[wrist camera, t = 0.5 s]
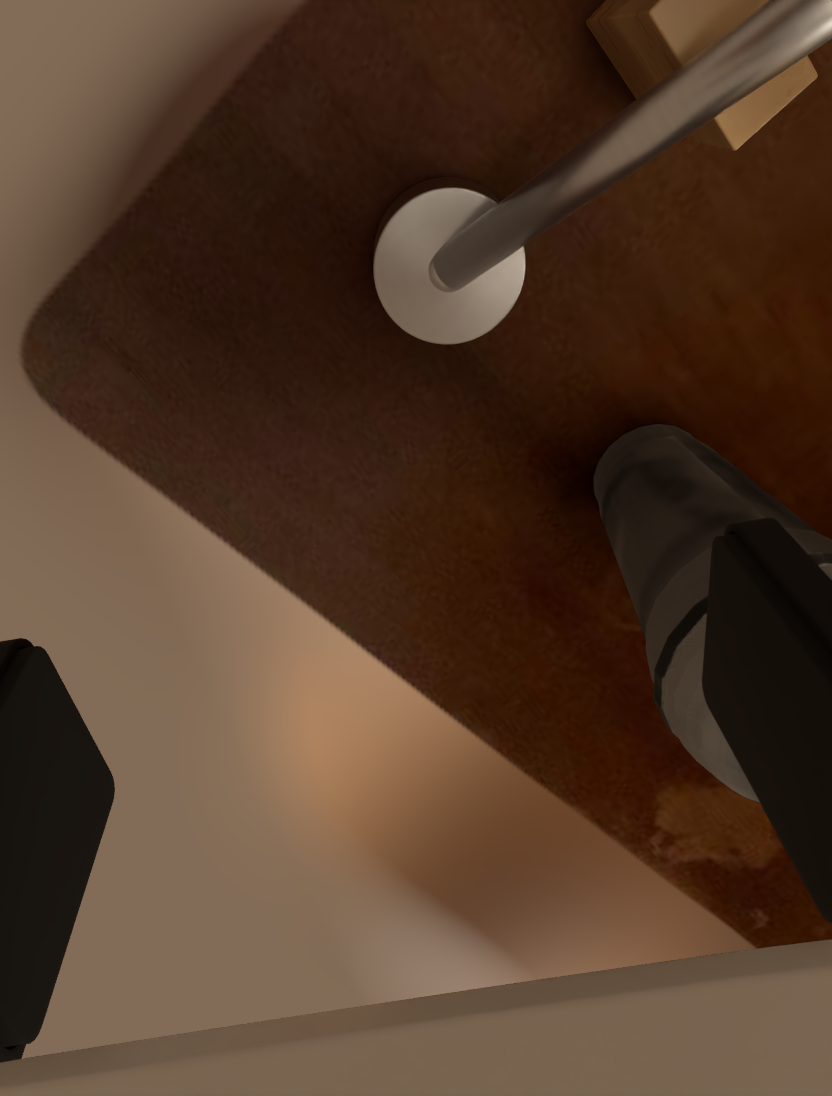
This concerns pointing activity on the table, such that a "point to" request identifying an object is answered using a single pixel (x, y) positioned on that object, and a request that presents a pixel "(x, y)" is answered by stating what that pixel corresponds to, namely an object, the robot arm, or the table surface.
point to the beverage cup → (682, 564)
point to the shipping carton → (674, 38)
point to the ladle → (565, 182)
